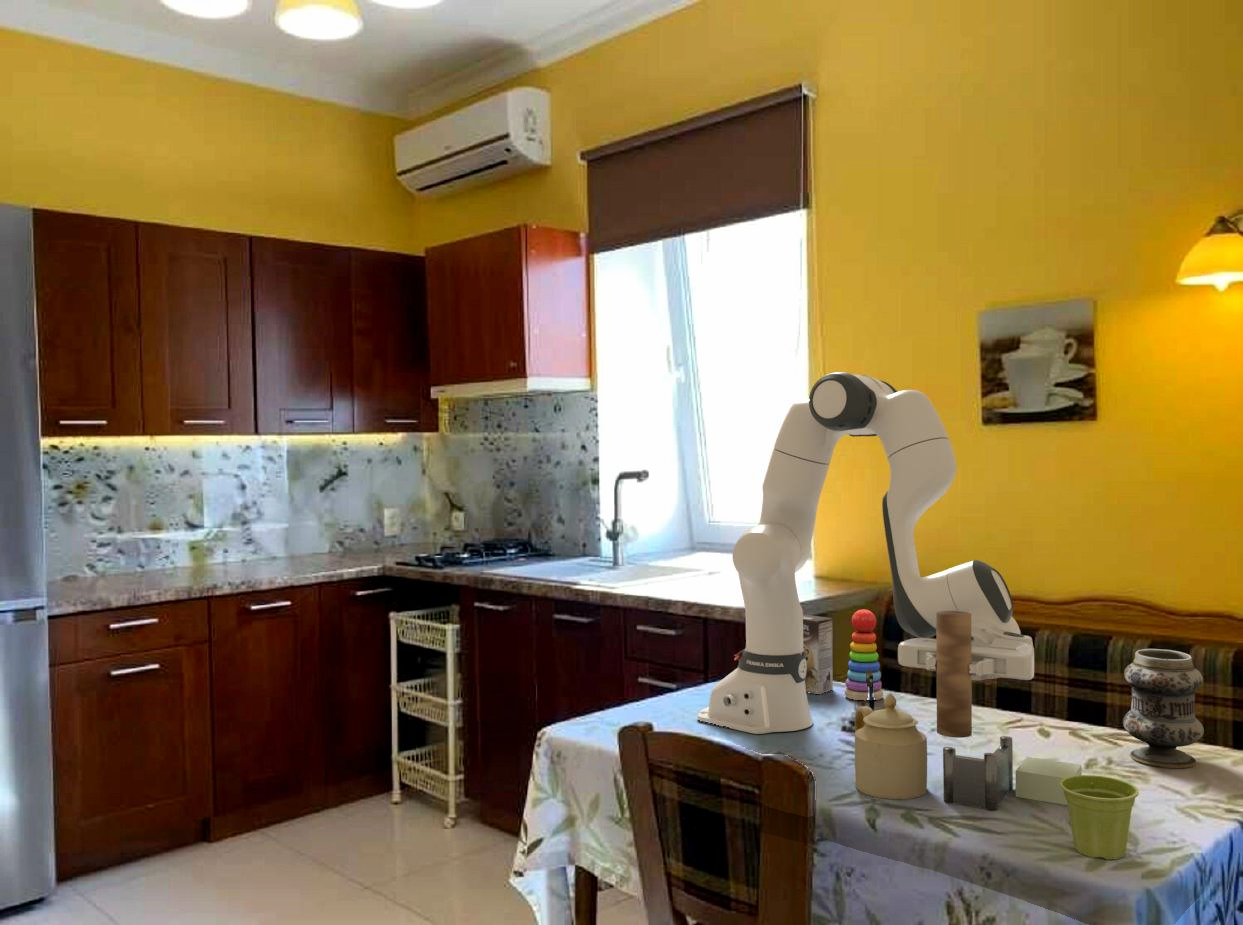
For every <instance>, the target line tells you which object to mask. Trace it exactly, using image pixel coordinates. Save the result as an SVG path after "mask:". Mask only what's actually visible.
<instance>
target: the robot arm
mask: <svg viewBox="0 0 1243 925" xmlns="http://www.w3.org/2000/svg"><path fill="white" fill-rule="evenodd" d="M808 396H809V397H808V398H802V399H799V400H797V401H795V402H794V403H793V404H792V405H791V406H790V408H789V410H788V412H787V414H786V416H785V418H784V420H783V422H782V424H781V427H780V429H779V432H778V434H777V437H776V439H775V442H774V445H773V448H772V449H773V450H772V452H771V456H770V460H769V462H768V466H767V470H766V473H765V477H764V480H763V482H762V493H763V494H762V506H761V513H760V514H761V515H760V518H759V522H758V524H757V525H756V526H753V527H751V528H748V529H747V530H745V531H744V532H743V533H742V534H741V535H740V537H739V538H738V539H737V541H736V543H735V544H734V547H733V550H732V562H733V565H734V568H735V570H736V571H737V574H738V577H739V579H738V580H739V585H740V589H741V593H742V599H743V605H744V611H745V612H744V613H745V640H746V641H745V648H744V649H742V650H740V651H739V652H738V653H736V654H734V655H733V656H734V657H735V658H734V661H738V665H737V668H735V669H734V670H733V671H732V672H730V673H729V674H728V675H726V676H725V677H724V678H722V679H721V680H720V681H718V682H717V683H716V684H715V685H714V686H713V687H712V689H711V692H710V695H709V702H708V706H707V707H705V708H703V709H701V710H700V711H699V712H698V713H697V721H698V720H700V721H699V722H701V721H707V722H711V723H713V724H712V725H714V724H716V725H715V726H718V725H719V727H723V726H726V727H725V728H727V727H729V729H731V730H737V731H741V732H745V733H750V734H754V735H759V734H760V735H761V734H769V733H781V732H785V733H786V732H794V731H800V730H803V729H807V728H809V727H811V726H812V725H813V724H814V721H813V718H812V715H811V710H810V705H809V701H808V695H807V694H808V693H806V686H805V679H806V669H807V667H806V652H805V650H804V649H803V614H804V611H803V608H802V606H801V604H800V603H801V602H800V599H799V594H798V590H797V588H798V587H797V583H796V573H797V572H798V571H800V570H801V569H802V568H803V567H804V566H805V564H806V563H807V561H808V559H809V557H810V554H811V549H812V540H813V536H814V529H815V524H816V517H817V511H818V506H819V502H820V497H821V494H822V491H823V487H824V483H825V482H826V478H827V474H828V471H829V468H830V463H831V460H832V458H833V455H834V453H833V452H834V450H835V447H836V445H837V444H838V442H839V441H840V440H841V438H843V437H845V436H847V435H849V436H850V437H853V438H855V437H878V438H879V439H880V440H879V441H880V442H881V444H882V446H883V450H884V451H885V452H884V453H885V456H886V459H887V462H888V464H889V470H890V477H889V478H890V479H889V486H888V489H887V491H886V492H885V494H884V495H883V497H882V502H881V503H882V504H881V505H882V506H881V507H882V509H881V510H882V518H883V519H882V520H883V528H884V534H885V541H886V546H887V547H886V548H887V553H888V561H889V567H890V574H891V580H892V595H893V596H892V597H893V608H894V614H895V617H896V620H897V623H898V624H899V627H900V628H902V630H904V631H905V632H907V633H908V634H910V635H912V636H914V638H910V639H905V640H904V641H900V643H899V644H898V647H897V661H898V664H899V665H901V666H903V667H909V668H918V669H925V670H926V671H932V672H937V653H936V638H931V637H934V636H936V613H937V612H940V611H961V612H968V613H970V614H971V655H972V662H971V663H970V664H969V669H970V671H969V674H970V675H972V681H983V680H986V679H989V680H990V679H991V680H992V679H1000V678H1003V679H1004V678H1005V679H1013V680H1014V679H1015V680H1021V681H1031V680H1032V679H1033V678H1034V677H1035V648H1034V644H1033V638H1032V637H1031V636H1029V635H1024V634H1021V633H1022V632H1021V629H1020V626H1019V625H1018V623H1017V621H1016V619H1015V618H1014V617H1013V612H1014V602H1013V598H1012V595H1011V592H1010V590H1009V588H1008V585H1007V583H1006V581H1005V579H1004V577H1003V576H1002V574H1001V573H1000V572H999V571H998V570H997V569H996V568H994V567H992V566H991V565H990V564H988V563H986V562H984V561H981V560H979V559H978V560H977V559H974V560H971V561H967V562H964V563H961V564H958V565H955V566H953V567H952V566H951V567H950V568H948V569H944V570H942V571H939V572H936V573H933V574H929V575H927V576H923V577H922V576H921V574H920V567H919V564H918V556H917V550H916V544H915V536H914V531H915V526H917V525H916V524H917V523H918V521H919V519H920V518H921V517H922V516H923V515H924V513H926V511H927V510H928V509H929V508H931V507H932V506H933V505H934V504H935V503H936V502H937V501H939V500H940V499H941V498H942V497H944V495H945V494H946V492H948V490H949V489H950V487H951V486H952V484H953V483H954V481H955V477H956V475H957V468H958V465H957V460H956V459H957V458H956V455H955V452H954V448H953V446H952V443H951V440H950V438H949V435H948V433H947V430H946V428H945V425H944V424H943V421H942V420H941V418H940V416H939V413H938V412H937V410H936V408H935V407H934V405H933V403H932V402H931V400H930V398H929V397H928V396H927V395H926V394H925V393H924V392H922V391H919V390H916V389H904V390H899V391H898V390H897V389H896V388H895V387H893V386H892V385H891V384H889V382H886V381H884V380H880V379H877V378H875V377H871V376H868V375H866V374H852V373H849V372H844V371H842V372H841V371H837V372H832V373H829V374H825V375H824V376H822V377H820V378H819V379H818V380H817V381H816V382H815V383H814V385H813V386H812V387H811V390H810V393H809V395H808Z"/></svg>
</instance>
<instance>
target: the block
mask: <svg viewBox="0 0 1243 925" xmlns="http://www.w3.org/2000/svg"><path fill="white" fill-rule="evenodd" d="M1082 768H1083V767H1082V764H1079V763H1074V762H1066V761H1059V760H1058V761H1057V760H1052V759H1045V758H1037V757H1032V756H1031V757H1030V756H1026V757H1025V758H1024V760H1023V761H1022V763H1021V764H1020V765H1018V767H1017V768H1016V770H1015V797H1016V798H1021V799H1025V800H1026V799H1027V800H1034V801H1039V802H1040V801H1041V802H1045V803H1046V802H1047V803H1051V804H1057V805H1063V806H1068V804H1067V799H1066V798H1065V795H1064V790H1063V789H1062V788H1061V787H1060V781H1061V780H1062V779H1064V778H1066V777H1070V776H1077V775H1082V771H1083V770H1082Z"/></svg>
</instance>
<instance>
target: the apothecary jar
mask: <svg viewBox="0 0 1243 925" xmlns="http://www.w3.org/2000/svg"><path fill="white" fill-rule="evenodd" d="M1123 676H1124V679H1125V680H1126V682H1127V683H1128V684H1129V685H1130V686H1131V705H1130V710H1129V711H1127V713H1126V714H1125V715H1124V717H1123V719H1122V725H1123V727H1124V730H1125V731H1126V732H1127V733H1128V734H1129V735H1131V736H1132V737H1134V739H1136V740H1138V741H1140V742H1143V743H1145V744H1147V745H1148V746H1142V747H1140V748H1136V749H1134V750H1132V751H1131V752H1130V754H1129V756H1130V757H1131V759H1133V760H1134V761H1135V762H1138V763H1141V764H1144V765H1148V766H1153V767H1156V768H1157V767H1158V768H1166V769H1167V768H1168V769H1187V768H1193V767H1194V766H1195V763H1197V760H1196V758H1194V757H1193V756H1192V755H1190V754H1188V753H1186V752H1184V751H1182V750H1180V749H1177V748H1179V747H1186V746H1190V745H1193V744H1195V743H1197V742H1198V741H1199V740H1200V739H1202V737H1203V735H1204V732H1205V730H1204V726H1203V724H1202V723H1201V722H1200V720H1199V719H1198V718H1196V707H1195V706H1196V692H1197V691H1199V690H1200V689H1201V688H1202V686H1203V685H1204V678H1203V675H1202V674H1201V672H1200V671H1199V670H1198V669H1196V668H1195V666H1194V663H1193V658H1192V656H1191V655H1190V654H1188V653H1185V652H1182V651H1178V650H1172V649H1160V648H1143V649H1138V650H1136V651H1135V653H1134V659H1133V661H1132V663H1130V664H1128V665H1127V666H1126V668H1125V669H1124V671H1123Z"/></svg>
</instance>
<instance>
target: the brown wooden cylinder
mask: <svg viewBox="0 0 1243 925" xmlns="http://www.w3.org/2000/svg"><path fill="white" fill-rule="evenodd" d="M935 636H936V638H935V639H936V653H937V671H936V733H937V734H939V735H940V736H944V737H949V738H958V739H959V738H962V739H963V738H968V737H971V736H972V733H973V729H972V728H973V724H972V723H973V722H972V721H973V718H972V717H973V714H972V713H973V711H972V710H973V708H972V705H973V703H972V702H973V693H972V691H973V690H972V687H973V686H972V683H973V682H972V681H973V680H972V675H970V674H969V671H970V669H969V664H970V663H971V662H972V655H971V614H970V613H968V612H961V611H940V612H937V613H936V635H935Z"/></svg>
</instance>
